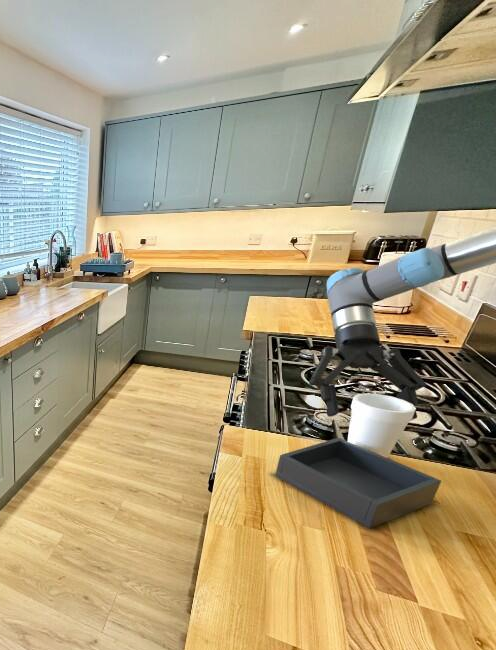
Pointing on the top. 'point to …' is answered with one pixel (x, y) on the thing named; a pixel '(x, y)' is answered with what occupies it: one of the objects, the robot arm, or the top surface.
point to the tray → (357, 481)
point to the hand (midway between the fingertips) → (371, 417)
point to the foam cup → (378, 421)
